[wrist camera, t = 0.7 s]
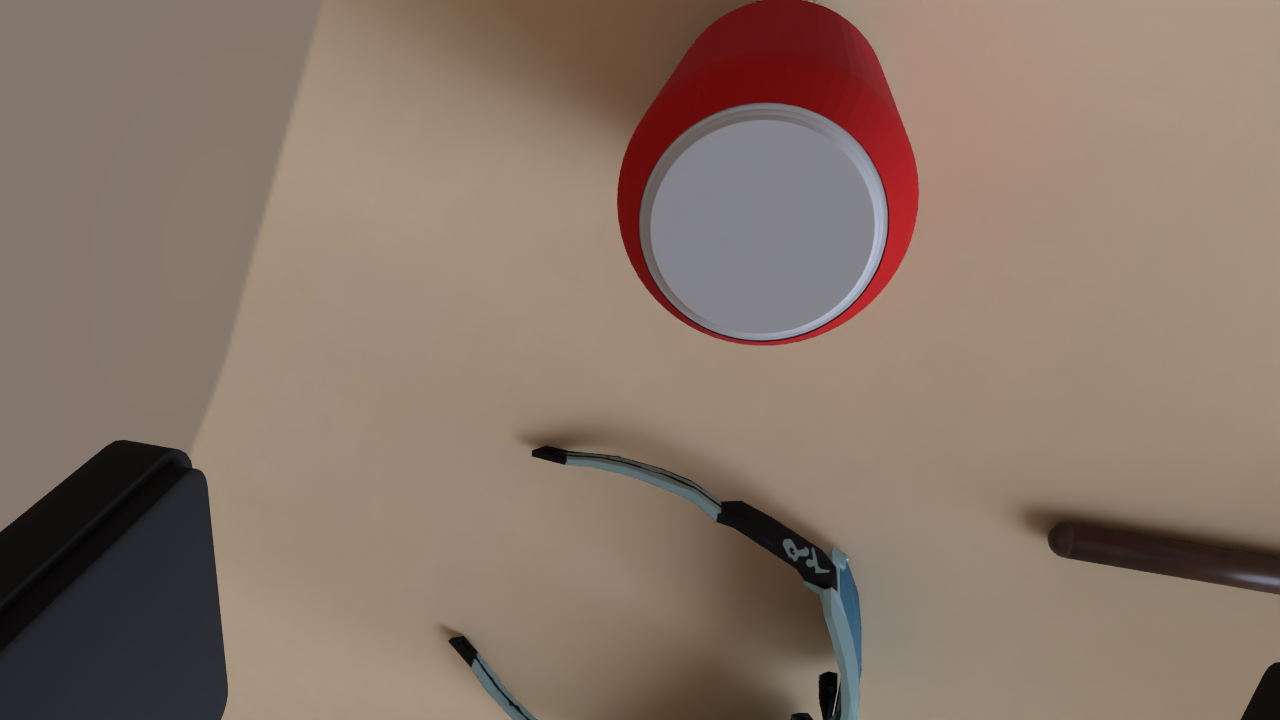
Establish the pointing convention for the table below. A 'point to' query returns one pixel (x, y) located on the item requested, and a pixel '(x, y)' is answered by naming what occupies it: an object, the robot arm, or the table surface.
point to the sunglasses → (815, 566)
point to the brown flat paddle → (1166, 557)
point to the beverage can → (770, 178)
